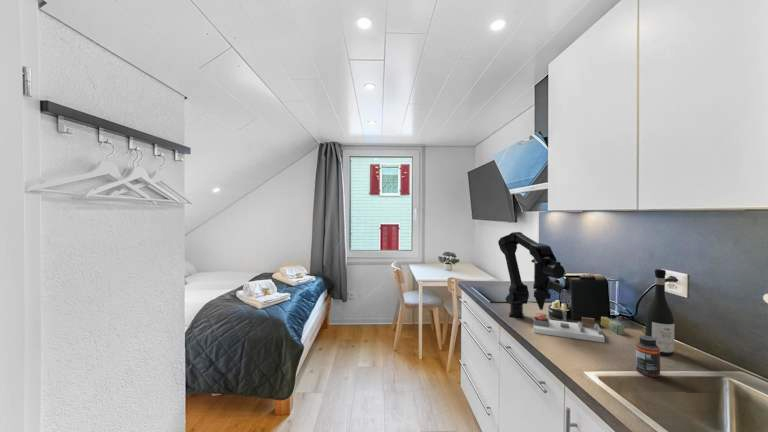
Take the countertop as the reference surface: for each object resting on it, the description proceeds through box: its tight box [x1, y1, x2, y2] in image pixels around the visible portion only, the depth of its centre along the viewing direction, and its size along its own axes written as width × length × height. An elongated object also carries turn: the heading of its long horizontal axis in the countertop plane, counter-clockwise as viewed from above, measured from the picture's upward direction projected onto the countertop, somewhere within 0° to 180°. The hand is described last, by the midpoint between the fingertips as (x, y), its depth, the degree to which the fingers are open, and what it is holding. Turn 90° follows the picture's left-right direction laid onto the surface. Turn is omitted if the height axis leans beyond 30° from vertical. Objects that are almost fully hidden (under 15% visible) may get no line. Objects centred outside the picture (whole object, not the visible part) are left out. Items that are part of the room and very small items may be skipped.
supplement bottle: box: [635, 335, 661, 378], centre depth 103 cm, size 6×6×11 cm
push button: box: [535, 312, 547, 321], centre depth 143 cm, size 4×4×2 cm
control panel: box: [533, 315, 605, 343], centre depth 139 cm, size 14×25×4 cm, turn 66°
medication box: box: [600, 316, 625, 336], centre depth 141 cm, size 12×3×4 cm, turn 177°
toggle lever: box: [561, 310, 568, 322], centre depth 140 cm, size 2×2×4 cm
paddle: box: [581, 316, 596, 328], centre depth 138 cm, size 1×4×4 cm, turn 66°
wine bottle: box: [644, 268, 675, 356], centre depth 119 cm, size 8×8×30 cm
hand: (541, 309), depth 143 cm, fingers closed
